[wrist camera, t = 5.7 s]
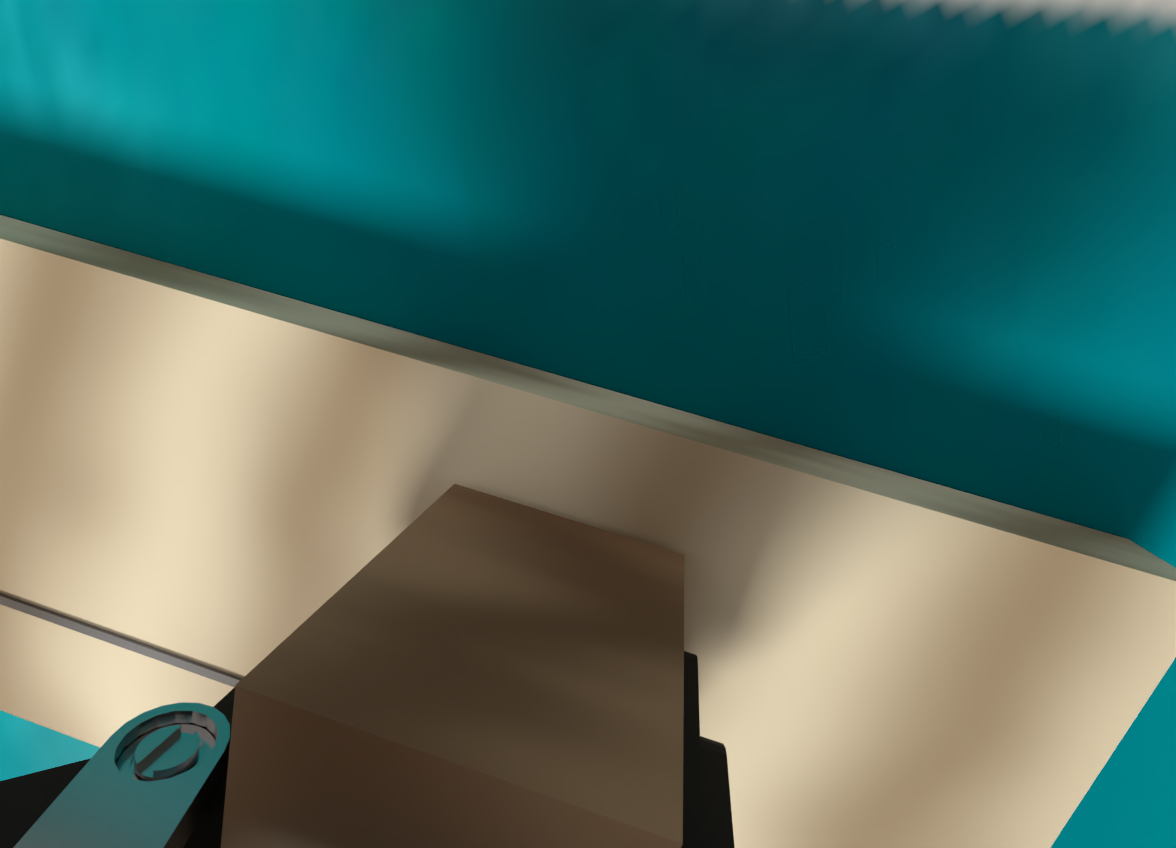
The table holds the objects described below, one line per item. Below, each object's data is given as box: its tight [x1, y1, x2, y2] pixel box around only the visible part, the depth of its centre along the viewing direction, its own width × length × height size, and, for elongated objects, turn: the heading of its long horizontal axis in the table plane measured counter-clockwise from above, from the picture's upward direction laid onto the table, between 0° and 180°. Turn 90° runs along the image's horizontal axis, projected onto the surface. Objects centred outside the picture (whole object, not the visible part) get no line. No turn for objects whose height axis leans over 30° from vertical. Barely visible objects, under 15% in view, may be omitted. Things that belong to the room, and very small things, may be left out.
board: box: [0, 215, 1176, 848], centre depth 13 cm, size 30×12×2 cm, turn 76°
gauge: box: [221, 484, 684, 848], centre depth 9 cm, size 4×9×6 cm, turn 166°
